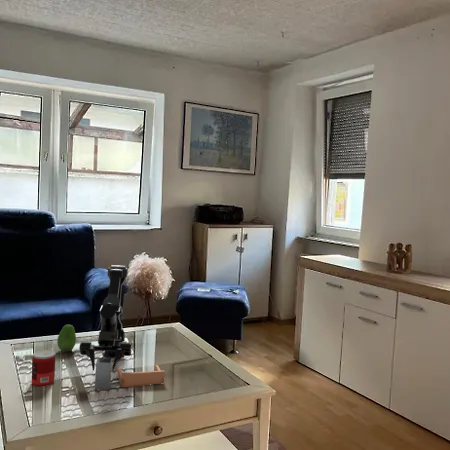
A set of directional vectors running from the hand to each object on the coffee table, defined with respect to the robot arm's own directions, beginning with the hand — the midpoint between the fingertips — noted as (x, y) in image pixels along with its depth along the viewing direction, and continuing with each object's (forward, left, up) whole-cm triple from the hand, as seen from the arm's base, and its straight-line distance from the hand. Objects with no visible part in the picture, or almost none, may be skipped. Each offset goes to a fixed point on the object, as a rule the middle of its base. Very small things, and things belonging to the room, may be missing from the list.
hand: (103, 370), depth 170 cm
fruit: (-18, -40, -7) cm, 44 cm away
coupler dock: (-15, +5, -7) cm, 17 cm away
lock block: (-1, -1, -7) cm, 7 cm away
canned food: (+10, -20, -7) cm, 23 cm away
